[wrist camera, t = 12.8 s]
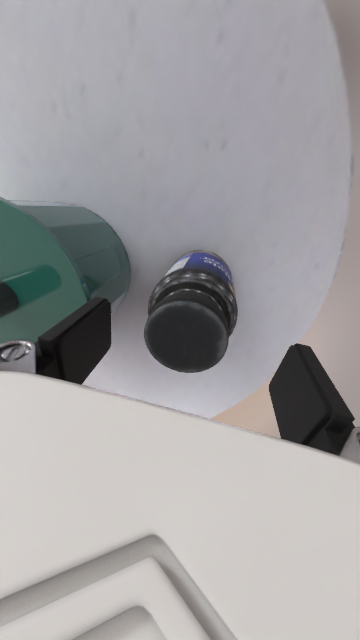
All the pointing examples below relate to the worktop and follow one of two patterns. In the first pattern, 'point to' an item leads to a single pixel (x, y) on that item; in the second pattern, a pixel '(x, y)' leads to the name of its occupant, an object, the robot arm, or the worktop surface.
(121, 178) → the worktop surface
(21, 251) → the pot lid
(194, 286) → the pill bottle
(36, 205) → the pot
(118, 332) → the worktop surface
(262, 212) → the worktop surface
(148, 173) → the worktop surface
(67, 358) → the robot arm
